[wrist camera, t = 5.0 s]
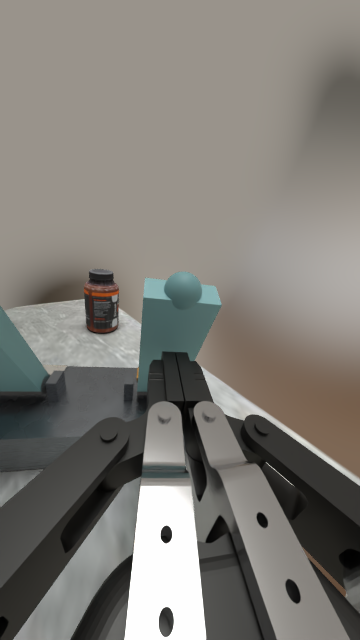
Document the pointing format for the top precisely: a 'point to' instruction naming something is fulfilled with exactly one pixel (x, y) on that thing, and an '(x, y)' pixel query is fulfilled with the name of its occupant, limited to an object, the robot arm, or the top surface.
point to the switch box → (64, 413)
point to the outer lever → (174, 319)
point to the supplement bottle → (101, 301)
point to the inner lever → (18, 363)
